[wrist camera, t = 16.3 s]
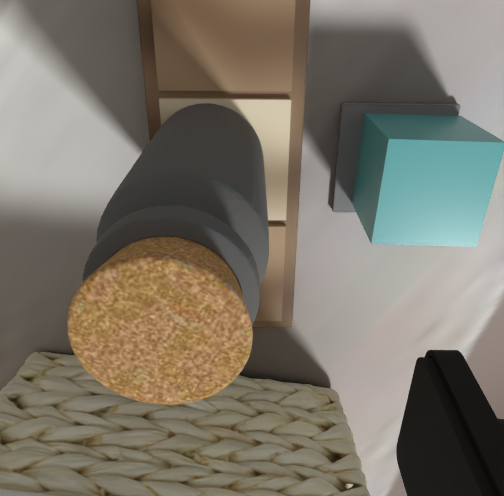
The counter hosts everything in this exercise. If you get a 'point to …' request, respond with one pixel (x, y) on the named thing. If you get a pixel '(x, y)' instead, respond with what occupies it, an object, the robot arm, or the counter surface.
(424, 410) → the robot arm
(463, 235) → the cube
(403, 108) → the mat
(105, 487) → the storage basket
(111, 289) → the bottle
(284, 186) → the board
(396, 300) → the counter surface
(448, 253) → the counter surface
